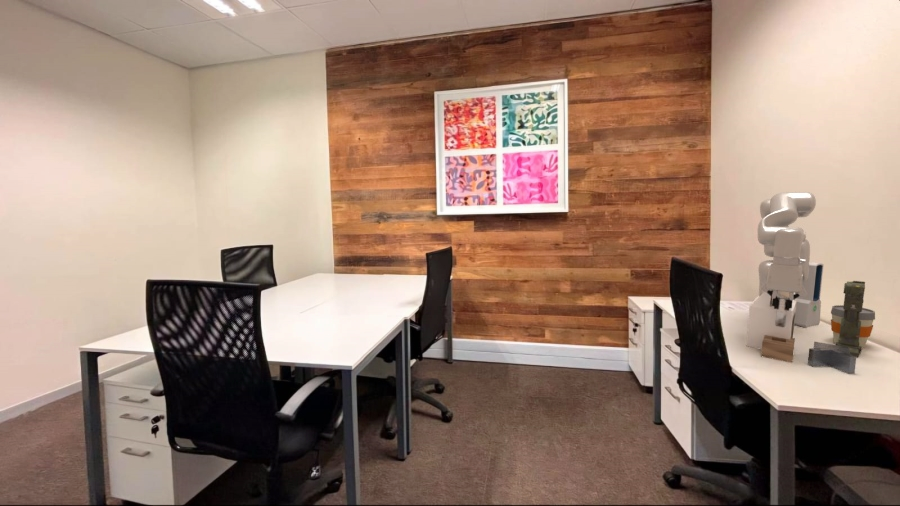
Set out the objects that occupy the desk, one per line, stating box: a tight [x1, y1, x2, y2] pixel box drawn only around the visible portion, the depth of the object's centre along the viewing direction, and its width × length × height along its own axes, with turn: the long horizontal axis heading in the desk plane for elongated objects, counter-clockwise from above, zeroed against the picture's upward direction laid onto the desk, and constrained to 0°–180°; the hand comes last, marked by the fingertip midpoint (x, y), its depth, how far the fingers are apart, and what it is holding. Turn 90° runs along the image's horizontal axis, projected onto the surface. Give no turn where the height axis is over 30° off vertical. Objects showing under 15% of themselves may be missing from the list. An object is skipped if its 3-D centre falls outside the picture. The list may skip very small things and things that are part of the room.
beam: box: [760, 335, 796, 363], centre depth 149 cm, size 12×9×6 cm
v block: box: [807, 341, 857, 374], centre depth 139 cm, size 12×12×6 cm
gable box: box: [745, 290, 797, 350], centre depth 160 cm, size 22×13×28 cm, turn 135°
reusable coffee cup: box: [830, 304, 876, 349], centre depth 158 cm, size 12×13×15 cm
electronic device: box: [794, 261, 824, 328], centre depth 183 cm, size 12×8×30 cm, turn 114°
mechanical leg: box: [835, 280, 866, 358], centre depth 148 cm, size 14×7×30 cm, turn 134°
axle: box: [775, 297, 788, 327], centre depth 147 cm, size 3×3×11 cm
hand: (781, 308), depth 147 cm, fingers closed on axle, 3 cm apart
